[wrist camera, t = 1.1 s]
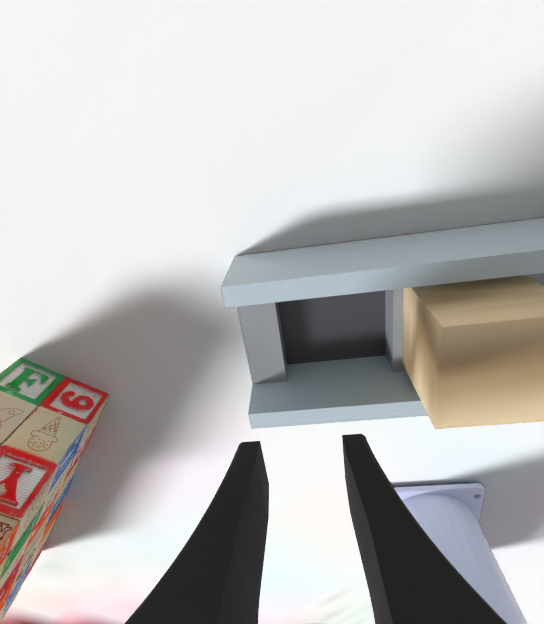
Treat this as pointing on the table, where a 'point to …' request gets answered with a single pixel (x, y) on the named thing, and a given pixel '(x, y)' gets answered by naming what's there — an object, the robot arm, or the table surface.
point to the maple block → (476, 350)
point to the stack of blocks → (37, 461)
